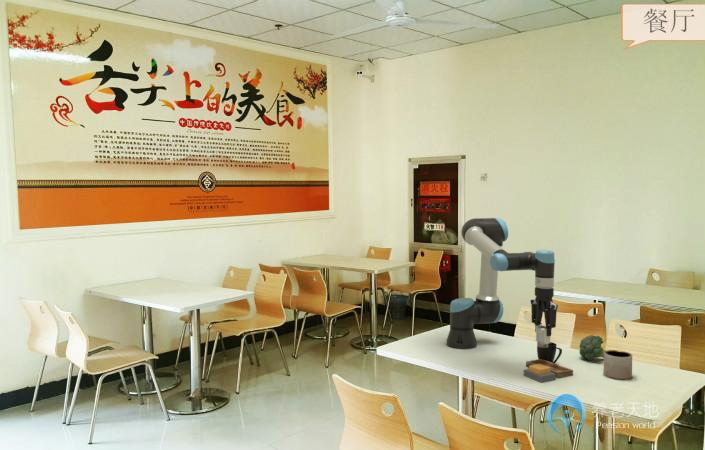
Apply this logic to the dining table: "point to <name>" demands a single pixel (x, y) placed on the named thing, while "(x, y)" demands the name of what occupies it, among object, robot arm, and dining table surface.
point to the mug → (548, 353)
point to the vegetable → (591, 347)
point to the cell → (541, 337)
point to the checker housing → (540, 376)
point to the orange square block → (539, 369)
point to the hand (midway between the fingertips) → (542, 341)
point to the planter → (617, 364)
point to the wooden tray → (552, 368)
